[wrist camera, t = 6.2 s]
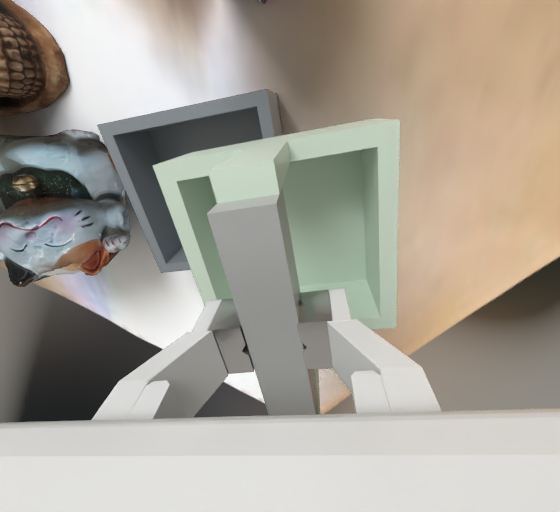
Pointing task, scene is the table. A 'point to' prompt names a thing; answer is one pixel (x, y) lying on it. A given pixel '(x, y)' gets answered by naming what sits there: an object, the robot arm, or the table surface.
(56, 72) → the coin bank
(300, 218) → the small crate
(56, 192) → the lucky cat figurine
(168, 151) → the large crate
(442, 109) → the table surface
